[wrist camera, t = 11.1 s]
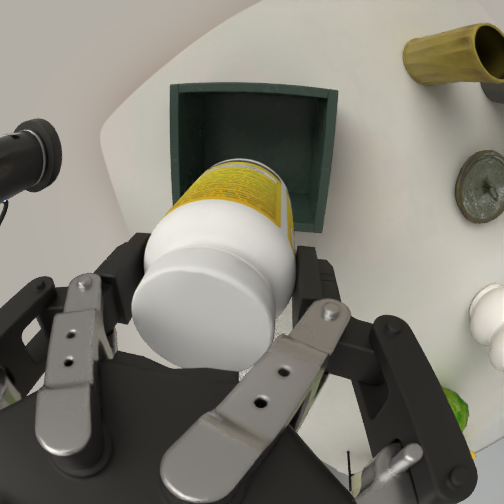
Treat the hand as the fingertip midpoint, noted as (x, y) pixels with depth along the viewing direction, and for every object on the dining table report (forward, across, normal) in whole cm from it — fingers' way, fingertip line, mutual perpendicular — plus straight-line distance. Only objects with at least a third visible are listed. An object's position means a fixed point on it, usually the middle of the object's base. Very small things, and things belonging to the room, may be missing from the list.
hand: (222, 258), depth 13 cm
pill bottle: (+7, 0, 0) cm, 7 cm away
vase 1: (+23, -19, -15) cm, 33 cm away
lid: (+23, -30, -1) cm, 38 cm away
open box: (+23, 0, -2) cm, 23 cm away
